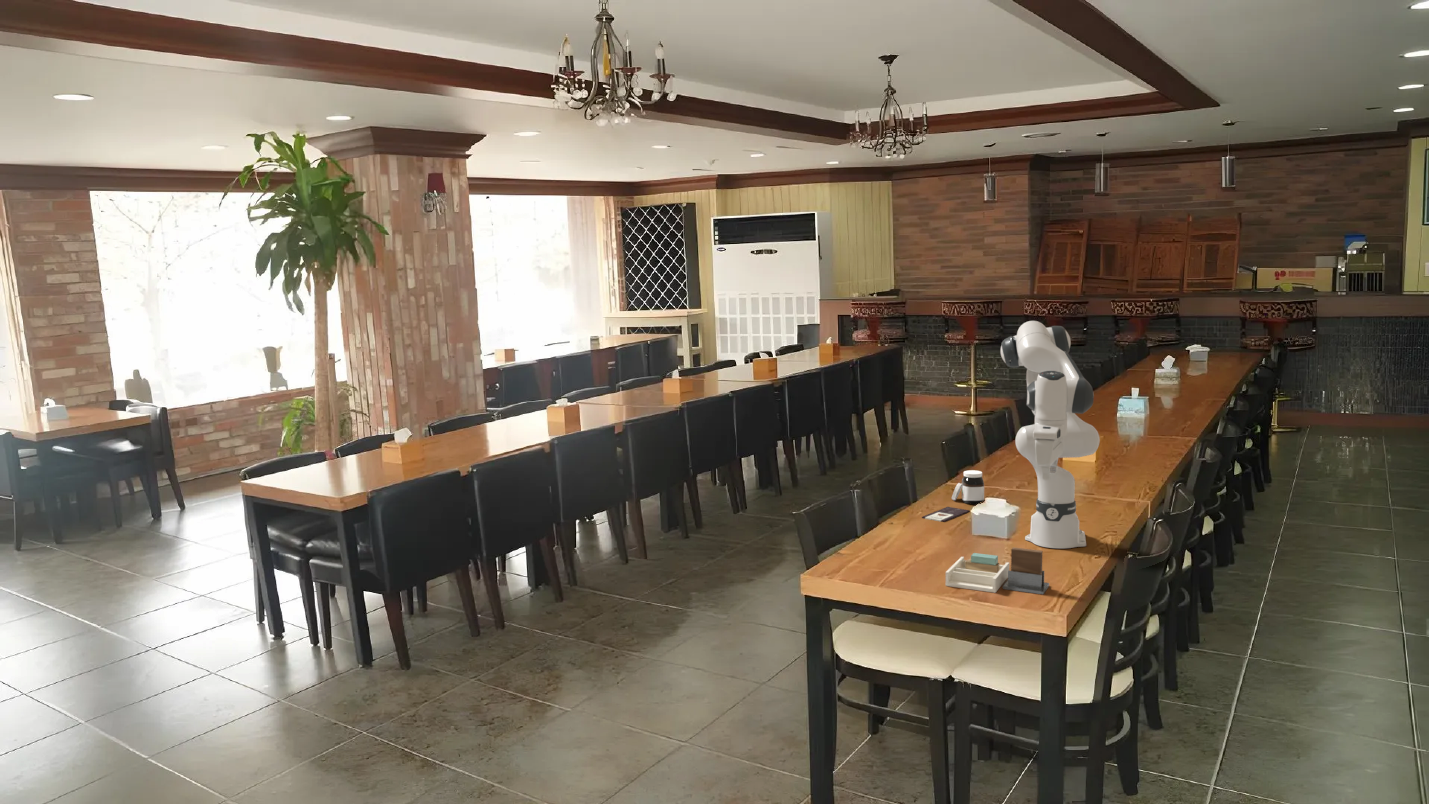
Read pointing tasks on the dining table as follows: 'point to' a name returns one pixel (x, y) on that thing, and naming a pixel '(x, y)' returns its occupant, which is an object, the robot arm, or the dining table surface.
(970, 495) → the spread jar
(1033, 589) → the stand
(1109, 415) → the dining table surface
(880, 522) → the dining table surface
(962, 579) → the rack
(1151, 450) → the dining table surface
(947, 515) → the chocolate bar
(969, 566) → the oak offcut
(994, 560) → the teal offcut
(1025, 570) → the walnut board
